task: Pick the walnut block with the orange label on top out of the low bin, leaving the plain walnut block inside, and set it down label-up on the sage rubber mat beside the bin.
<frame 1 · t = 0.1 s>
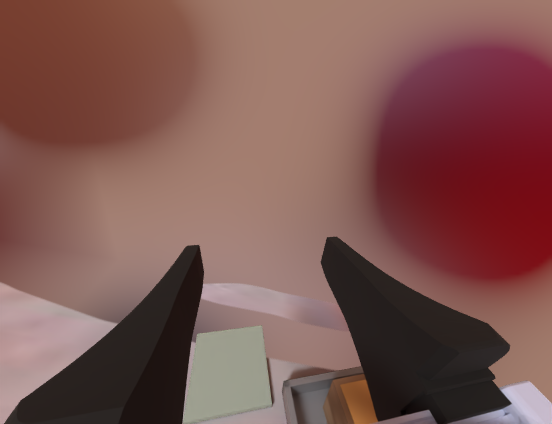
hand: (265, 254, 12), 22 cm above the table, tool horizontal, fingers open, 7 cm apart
mat: (230, 367, 25), on the table
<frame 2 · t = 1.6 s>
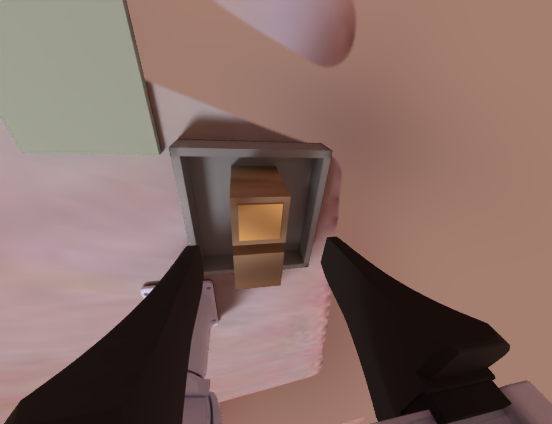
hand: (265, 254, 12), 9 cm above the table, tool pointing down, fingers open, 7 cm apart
label block: (253, 186, 19), resting on bin
mat: (71, 83, 13), on the table
plain block: (253, 228, 22), resting on bin
bin: (253, 207, 21), on the table
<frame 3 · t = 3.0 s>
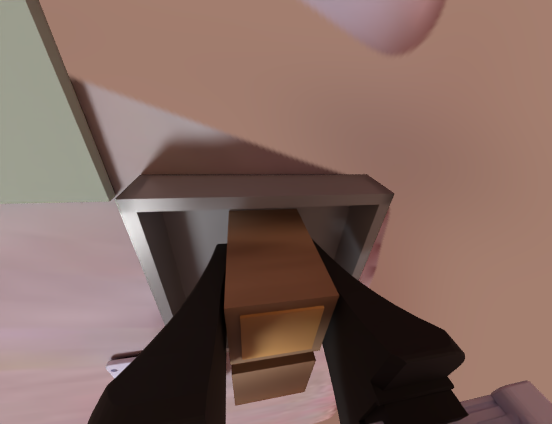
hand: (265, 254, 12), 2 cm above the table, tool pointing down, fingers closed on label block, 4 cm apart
label block: (262, 236, 13), resting on bin, touching gripper
plain block: (260, 287, 16), resting on bin
bin: (261, 262, 14), on the table
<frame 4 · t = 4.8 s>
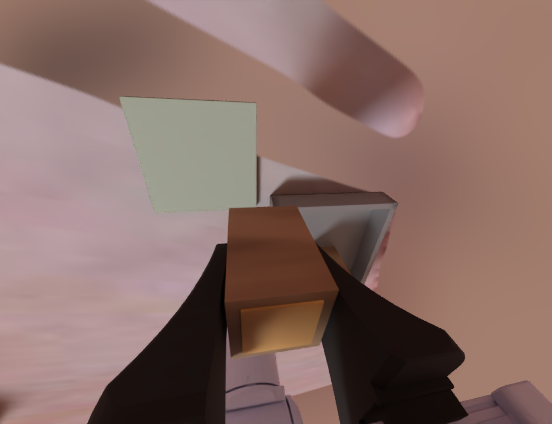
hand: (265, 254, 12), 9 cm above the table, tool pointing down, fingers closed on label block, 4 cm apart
label block: (262, 233, 13), point 7 cm above the table, touching gripper
mat: (201, 161, 17), on the table
bin: (318, 243, 24), on the table
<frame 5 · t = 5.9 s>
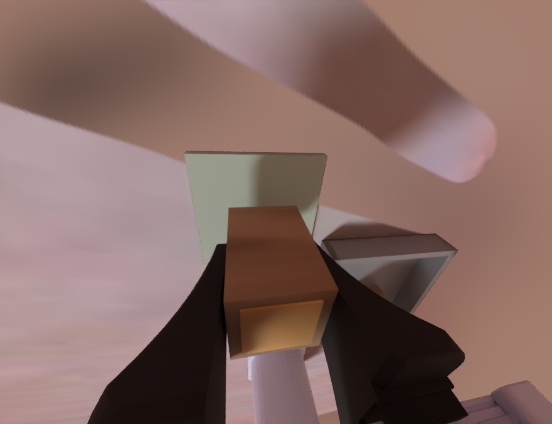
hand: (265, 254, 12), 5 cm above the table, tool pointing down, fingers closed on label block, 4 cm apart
label block: (262, 233, 13), point 3 cm above the table, touching gripper
mat: (258, 210, 16), on the table
bin: (362, 282, 23), on the table
when the fingers open (3 cm above the table, at t = 6.6 s): label block stays where it is, resting on mat.
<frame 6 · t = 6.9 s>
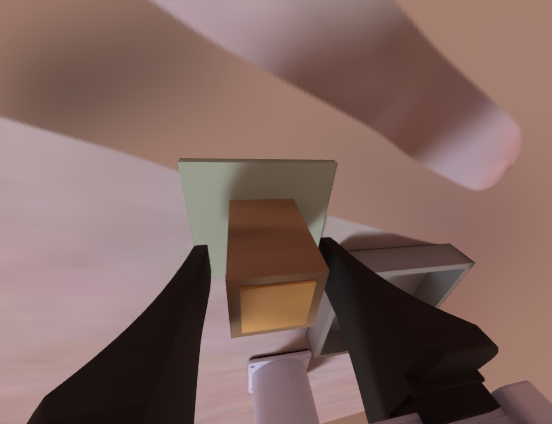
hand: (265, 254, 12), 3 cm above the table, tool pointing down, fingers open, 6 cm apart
label block: (261, 225, 14), point 1 cm above the table, touching mat
mat: (260, 222, 14), on the table
bin: (370, 294, 22), on the table
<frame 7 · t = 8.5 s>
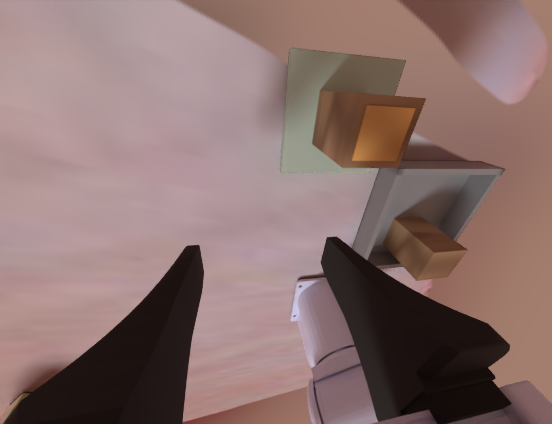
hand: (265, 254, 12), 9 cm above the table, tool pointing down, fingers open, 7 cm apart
label block: (338, 119, 17), point 1 cm above the table, touching mat
syrup box: (39, 399, 33), on the table
mat: (334, 120, 17), on the table
plain block: (401, 230, 26), resting on bin
bin: (408, 213, 25), on the table
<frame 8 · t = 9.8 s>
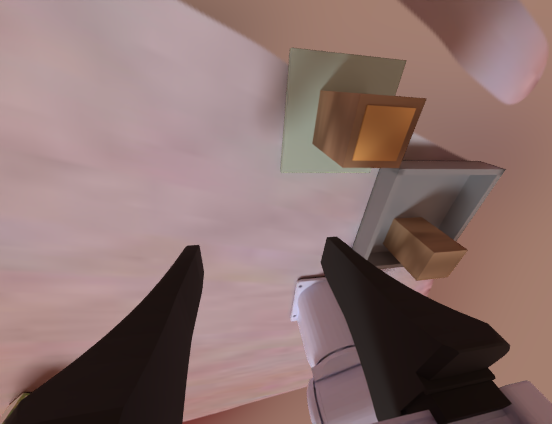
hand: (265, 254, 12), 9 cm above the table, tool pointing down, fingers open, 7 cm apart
label block: (338, 119, 17), point 1 cm above the table, touching mat
syrup box: (38, 398, 33), on the table
mat: (335, 120, 18), on the table
plain block: (401, 230, 26), resting on bin
bin: (408, 213, 25), on the table
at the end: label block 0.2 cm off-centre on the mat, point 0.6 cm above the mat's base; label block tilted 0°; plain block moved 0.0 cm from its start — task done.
